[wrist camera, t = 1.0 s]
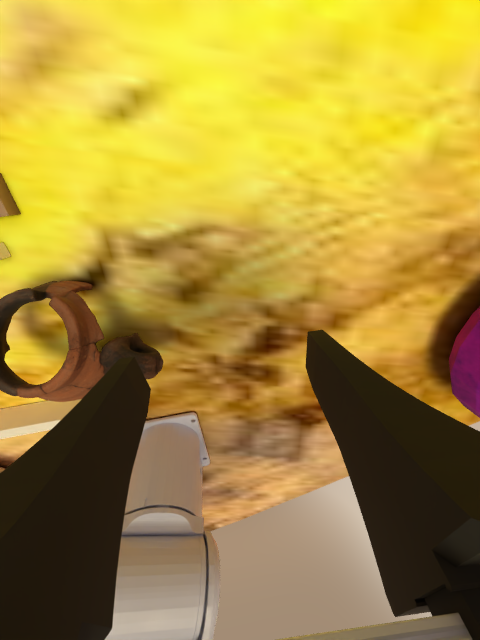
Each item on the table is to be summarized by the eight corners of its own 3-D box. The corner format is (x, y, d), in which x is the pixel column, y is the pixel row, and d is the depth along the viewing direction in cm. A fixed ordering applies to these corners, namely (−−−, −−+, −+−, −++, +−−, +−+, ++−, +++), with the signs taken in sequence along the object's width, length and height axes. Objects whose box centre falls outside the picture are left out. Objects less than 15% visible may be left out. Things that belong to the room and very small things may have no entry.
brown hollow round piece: (57, 378, 24) (-46, 406, 16) (69, 284, 25) (-28, 264, 16) (174, 396, 23) (128, 435, 15) (186, 297, 24) (147, 283, 15)
